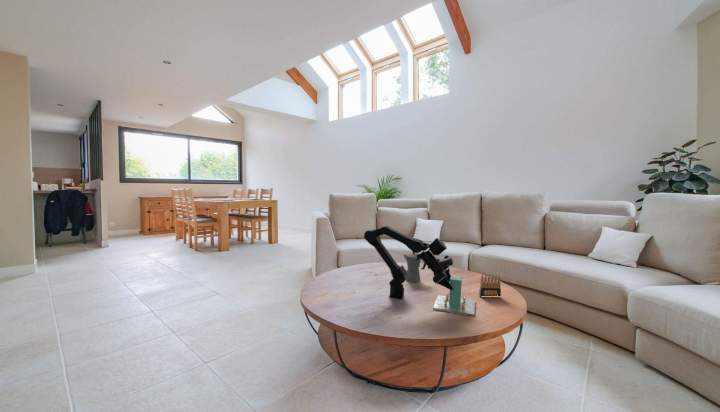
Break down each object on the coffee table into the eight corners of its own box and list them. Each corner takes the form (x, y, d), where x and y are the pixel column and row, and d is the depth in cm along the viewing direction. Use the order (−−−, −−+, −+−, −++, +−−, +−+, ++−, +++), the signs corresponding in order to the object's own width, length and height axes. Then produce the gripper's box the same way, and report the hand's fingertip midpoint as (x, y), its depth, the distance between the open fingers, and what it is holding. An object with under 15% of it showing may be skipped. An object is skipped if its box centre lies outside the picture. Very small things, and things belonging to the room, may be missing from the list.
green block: (449, 304, 144) (450, 279, 143) (450, 301, 148) (451, 276, 147) (460, 306, 142) (461, 280, 141) (460, 302, 146) (461, 277, 146)
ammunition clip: (480, 297, 157) (481, 275, 156) (478, 296, 159) (479, 273, 158) (500, 297, 157) (502, 275, 156) (499, 296, 159) (500, 274, 158)
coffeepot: (400, 280, 183) (400, 251, 182) (405, 276, 191) (405, 248, 190) (424, 284, 176) (426, 254, 175) (429, 280, 184) (430, 251, 183)
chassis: (433, 309, 140) (433, 302, 140) (438, 296, 157) (438, 290, 157) (474, 316, 133) (474, 308, 133) (475, 302, 150) (475, 295, 150)
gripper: (441, 255, 137) (465, 282, 134) (445, 247, 154) (467, 271, 151) (423, 269, 141) (446, 296, 137) (429, 260, 158) (450, 284, 154)
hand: (453, 286), depth 145 cm, fingers open, 9 cm apart
